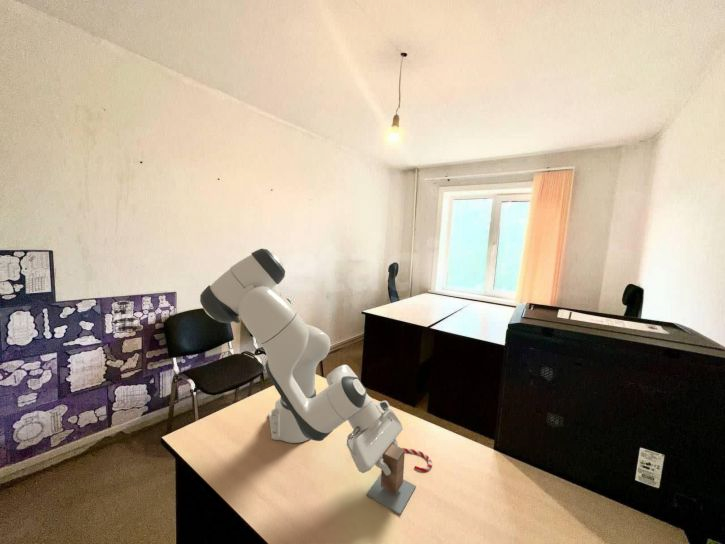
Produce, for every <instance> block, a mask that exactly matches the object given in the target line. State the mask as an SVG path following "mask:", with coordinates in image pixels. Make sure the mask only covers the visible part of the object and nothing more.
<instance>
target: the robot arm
mask: <svg viewBox="0 0 725 544" xmlns="http://www.w3.org/2000/svg"><path fill="white" fill-rule="evenodd" d="M285 277H286V270H285V267H284V263H283V262H282V260H281V258H280V257H279V256H278V255H277V254H275V253H274V252H273V251H270V250H268V249H267V248H259V249H256V250H254V251H253V252H251V254H250V255H248V256H246V257H244V258H243V259H241V260H239V261H238V262H236V263H235V264H233V265H232V266H230V267H229V269H228V270H226V271H225V272H224V273H223V274H221V276H219V277H218V278H217V279H216V280H215V281H214V282H213V283H212V284H211V285H209V284H208V286H206V288H205V289H204V290H203V291H202V292H201V294H199V295H200V296H199V302H200V304H201V305H202V308H203V311H204V312H205V313H206V315H208V316H209V317H210V318H211V319H213V320H215V321H216V322H219V323H221V324H222V323H224V324H230V323H233V322H234V323H235V324H239V323H241V321H242V322H243V324H244V326H245V327H246V329H247V330H248V332H249V333H250V334H251V335H252V336H253V338H254V339H255V341H257V342H258V343H259V344H260V346H261V347H262V348H263V350H264V352H265V355H266V358H267V359H266V362H265V366H264V367H265V371H266V374H267V376H268V377H269V380H270V381H271V382H272V384H273V386H274V387H275V390H276V391H277V392H278V394H279V395H280V398H279V399H278V400H276V401H275V403H274V408H273V409H271V411H270V412H269V413H268V422H269V428H270V429H269V430H270V437H271V439H272V440H275V441H283V442H286V443H291V444H294V443H295V444H297V443H298V444H299V443H303V442H306V441H308V440H310V441H316V442H323V440H324V439H326V438H327V437H328V436H329V435H330V434H331V433H332V432H333V431H335V429H337V428H339V427H340V426H342V425H343V423H344V424H345V422H346V421H347V422H348V423H349V424H350V427H351V428H352V431H351V433H349V434H348V435H347V439H346V446H347V449H348V450H349V452H350V455H351V458H352V461H353V463H354V464H355V467H356V468H357V470H358V472H360V473H362V474H365V473H367V472H369V471H371V470H372V468H373V467H375V466H376V467H377V468H379V469H380V470H383V471H384V473H385V475H389V474H390V473H391V472H392V468H391V466H390V464H388V465H386V464H385V463H384V462H383V458H382V455H383V453H384V452H385V451H386V450H387V449H388V447H389V446H390V445H391V444H394V445H396V446H398V447H399V443H398V441H397V437H398V436H399V435H400V434H401V432H402V431H403V425H402V422H401V420H400V418H399V417H398V415H397V414H396V413H395V411H394V410H393V409H392V408H390V403H389V401H387V400H382V401H378V402H374V400H373V399H372V397H371V396H370V395H369V394H368V393H367V389H366V387H365V385H364V384H363V383H362V381H361V380H360V378H359V377H358V376H357V375H356V373H355V372H354V370H353V369H352V368H351V367H350V366H349V365H348V364H340V365H339V366H336V367H335V368H333V369H331V371H330V372H329V373H328V374H326V376H325V379H326V383H327V385H328V386H327V387H326V388H324V389H323V390H322V391H321V392H319V393H318V394H317V392H316V391H317V390H316V388H315V387H316V372H317V367H318V366H319V363H320V362H321V361H323V360H324V359H325V358H327V356H328V354H329V353H330V350H331V338H330V336H329V335H328V334H327V333H325V332H324V331H322V330H321V329H320V328H319V327H316V326H313V325H310V324H307V323H305V321H304V319H303V318H302V317H301V316H300V315H299V314H298V312H297V311H296V310H295V307H294V306H293V304H292V303H291V301H289V300H288V299H287V297H286V296H285V295H284V294H283V292H281V291H280V289H279V288H278V287H277V286H276V285H280V283H282V281H283V280H284V279H285ZM240 319H241V321H240Z"/></svg>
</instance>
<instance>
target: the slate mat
mask: <svg viewBox="0 0 725 544" xmlns="http://www.w3.org/2000/svg"><path fill="white" fill-rule="evenodd" d="M416 487H417V486H416V485H415V484H413V483H411V482H410V481H407V480H406V479H404V478H403V484H402V485H401V487H400V489H399V490H398V492H397V493H396V495H395V494H393V493H391V492H390V491H388V490H386V489H384V488H383V487H381V473H380V475H379V476H378V477H377V479H376V480H375V481H374V483H373V484H372V485H371V487H370V488H369V489H368V491H367V492H366V496H367V497H369V498H371V499H372V500H374V501H375V502H377V503H379V504H381V506H384V507H386V508H387V509H389V510H391V511H392V512H394V513H396V515H399V516H401V515H402V513H403V511H404V509H405V508H406V506H407V504H408V502H409V501H410V498H411V497H412V495H413V493H414V491H415V489H416Z"/></svg>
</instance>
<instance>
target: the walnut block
mask: <svg viewBox="0 0 725 544" xmlns="http://www.w3.org/2000/svg"><path fill="white" fill-rule="evenodd" d="M402 448H403V447H401V446H399V445H398V446H396V445H394V444H391V445H390V446H389V447H388V449H387V450H386V451H385V452H384V453H383V455H382V458H383V462H384V463H385V464H386V465H388V464H390V466H391V468H392V472H391V473H390V474H389V475H385V473H384V471H383V470H382V469H380V470H381V473H380V474H381V487H383V488H384V489H386V490H388V491H390V492H391V493H393V494H395V495H396V493H397V492H398V490H399V489H400V487H401V485H402V484H403V479H404V473H405V472H404V469H405V453H406V452H405V450H404V449H402Z"/></svg>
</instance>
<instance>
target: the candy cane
mask: <svg viewBox="0 0 725 544" xmlns="http://www.w3.org/2000/svg"><path fill="white" fill-rule="evenodd" d="M401 448H402V449H404V450H405V453H407V454H413V455H418V456H419V457H422V458H423V459H424V460H426V462H427V465H426V466H425V467H420V466H417V465H415V466H414V467H413V469H414V471H417V472H421V473H426V472H429V471H430V470H431V469H432V466H433V462H432V460H431V457H429V456H428V455H427V454H426V453H424V452H423V451H420V450H417V449H414V448H413V449H412V448H405V447H401Z"/></svg>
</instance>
